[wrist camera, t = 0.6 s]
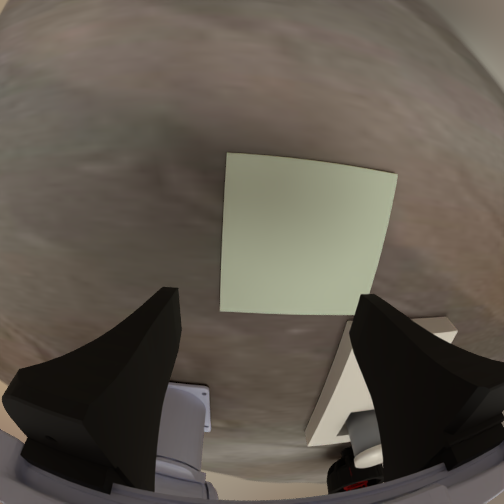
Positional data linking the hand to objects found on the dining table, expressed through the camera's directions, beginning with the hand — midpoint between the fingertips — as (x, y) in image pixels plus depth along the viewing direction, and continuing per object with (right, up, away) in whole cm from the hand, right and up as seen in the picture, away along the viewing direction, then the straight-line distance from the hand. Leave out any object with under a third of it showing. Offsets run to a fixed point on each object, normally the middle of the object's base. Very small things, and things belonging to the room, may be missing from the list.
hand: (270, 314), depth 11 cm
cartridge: (+13, -17, +19) cm, 28 cm away
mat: (+3, +3, +10) cm, 11 cm away
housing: (+13, -13, +17) cm, 25 cm away
